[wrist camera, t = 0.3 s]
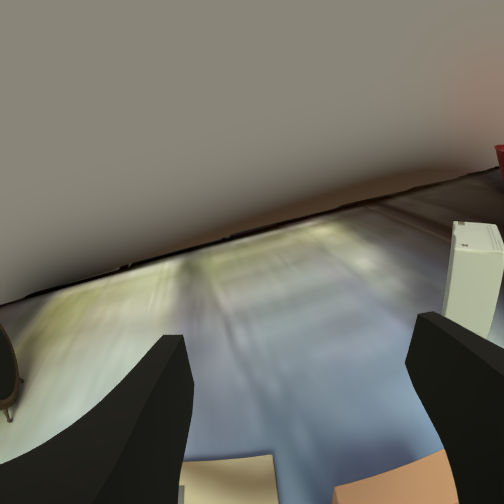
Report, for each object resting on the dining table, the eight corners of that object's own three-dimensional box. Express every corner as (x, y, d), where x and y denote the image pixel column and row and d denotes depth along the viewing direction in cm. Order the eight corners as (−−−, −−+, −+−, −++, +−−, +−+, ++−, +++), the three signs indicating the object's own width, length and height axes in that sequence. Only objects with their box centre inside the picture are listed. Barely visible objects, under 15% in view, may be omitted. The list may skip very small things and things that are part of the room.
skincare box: (475, 372, 27) (511, 255, 20) (429, 365, 30) (453, 248, 24) (477, 327, 33) (499, 222, 26) (437, 321, 36) (452, 216, 30)
